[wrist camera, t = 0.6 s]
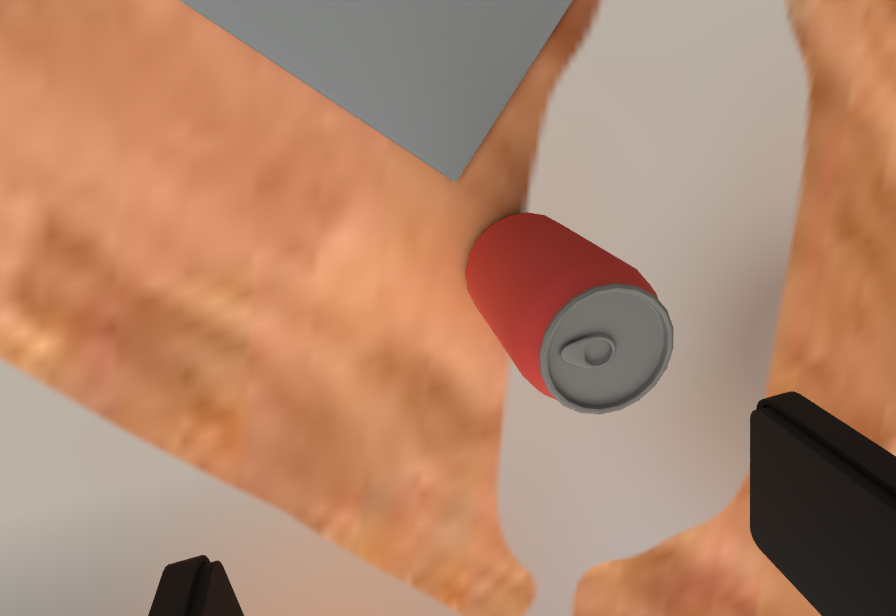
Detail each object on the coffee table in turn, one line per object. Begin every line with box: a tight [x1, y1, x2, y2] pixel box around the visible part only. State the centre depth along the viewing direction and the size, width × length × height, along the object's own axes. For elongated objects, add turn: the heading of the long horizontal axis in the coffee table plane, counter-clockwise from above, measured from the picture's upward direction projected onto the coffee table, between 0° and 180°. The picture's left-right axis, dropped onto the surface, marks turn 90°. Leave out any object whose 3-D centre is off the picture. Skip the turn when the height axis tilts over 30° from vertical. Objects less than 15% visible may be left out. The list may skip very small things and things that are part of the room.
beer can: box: [466, 213, 673, 414], centre depth 29 cm, size 7×7×12 cm
